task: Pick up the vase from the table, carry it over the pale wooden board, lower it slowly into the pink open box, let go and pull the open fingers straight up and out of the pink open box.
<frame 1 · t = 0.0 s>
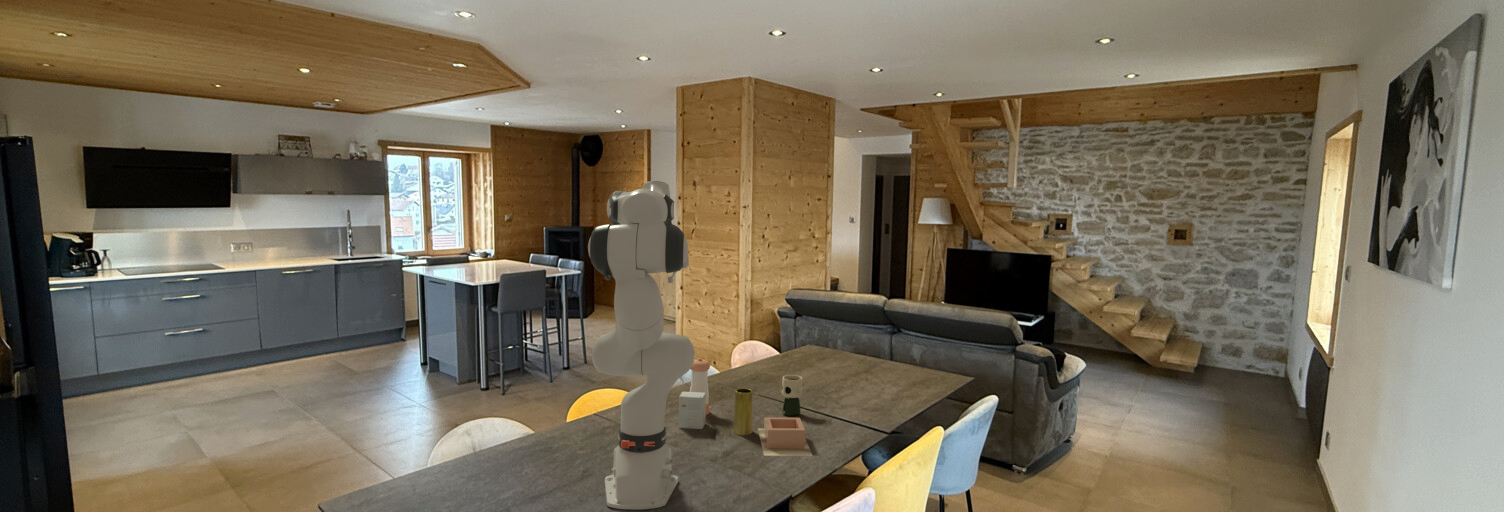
hand: (654, 282, 194), 48 cm above the table, tool pointing down, fingers open, 8 cm apart
pink open box: (783, 441, 196), resting on board
pepper shaker: (698, 413, 223), on the table
board: (783, 444, 196), on the table
character mug: (791, 414, 225), on the table
small box: (691, 426, 210), on the table
vase: (742, 435, 204), on the table
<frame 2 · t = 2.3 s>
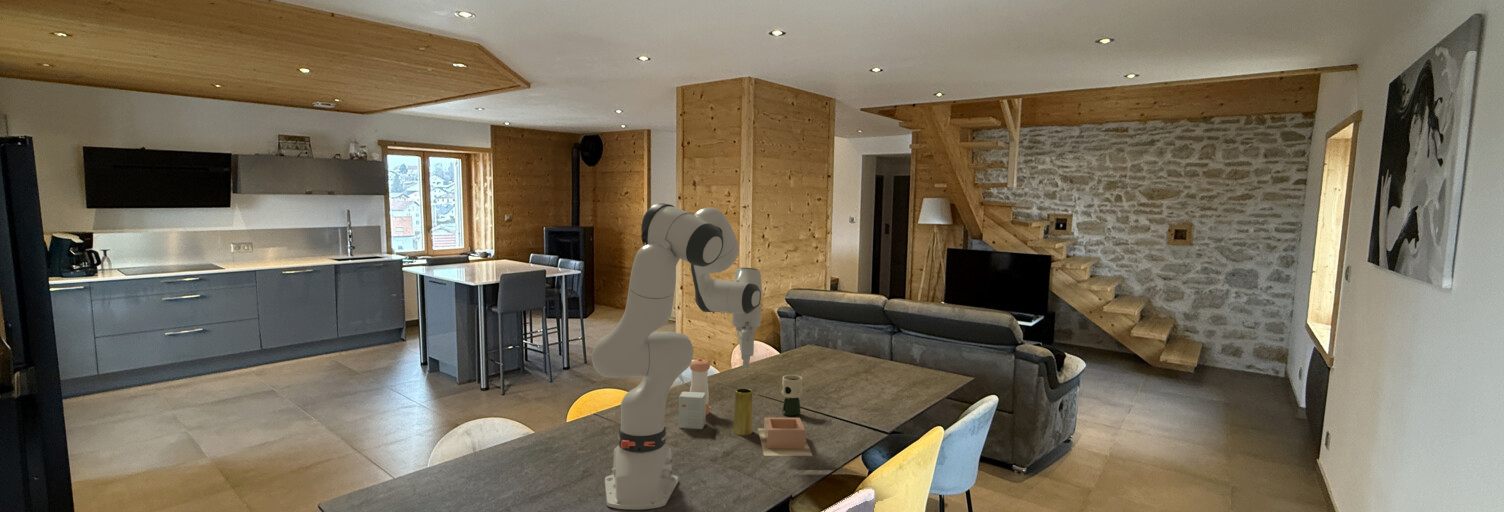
hand: (745, 363, 202), 23 cm above the table, tool pointing down, fingers open, 8 cm apart
nothing on the table moved.
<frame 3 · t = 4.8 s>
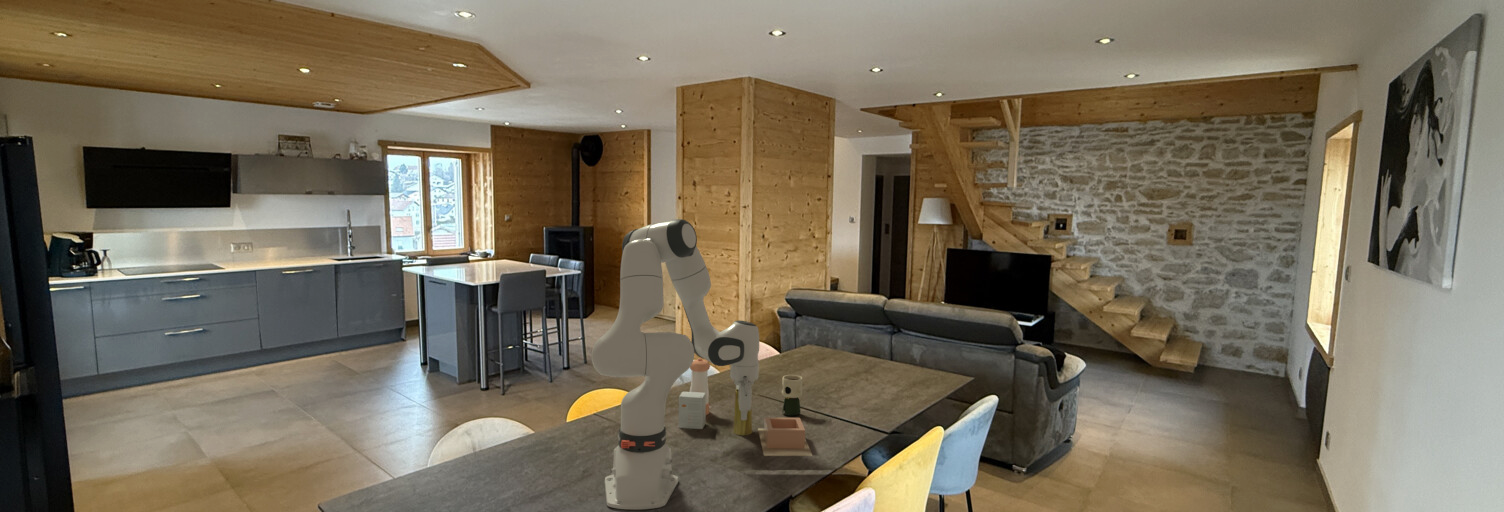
hand: (743, 415, 203), 6 cm above the table, tool pointing down, fingers closed on vase, 5 cm apart
vase: (742, 435, 204), on the table, touching gripper
everything else where it was.
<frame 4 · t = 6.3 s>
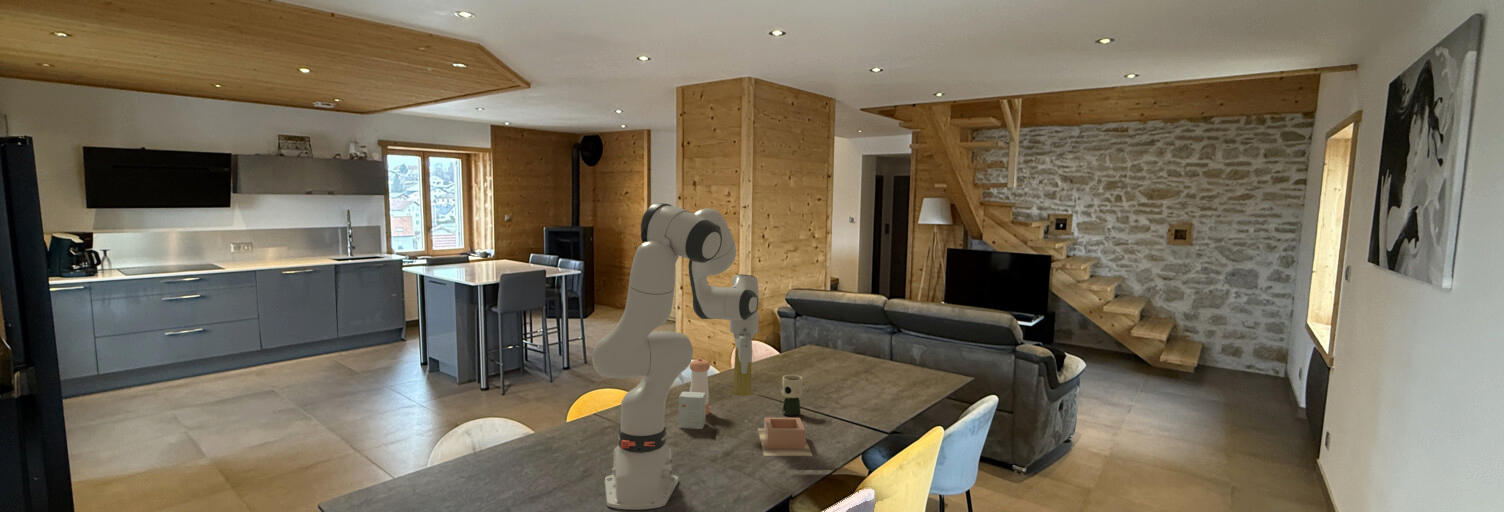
hand: (743, 370, 202), 21 cm above the table, tool pointing down, fingers closed on vase, 5 cm apart
vase: (741, 394, 202), point 13 cm above the table, touching gripper
everything else where it was.
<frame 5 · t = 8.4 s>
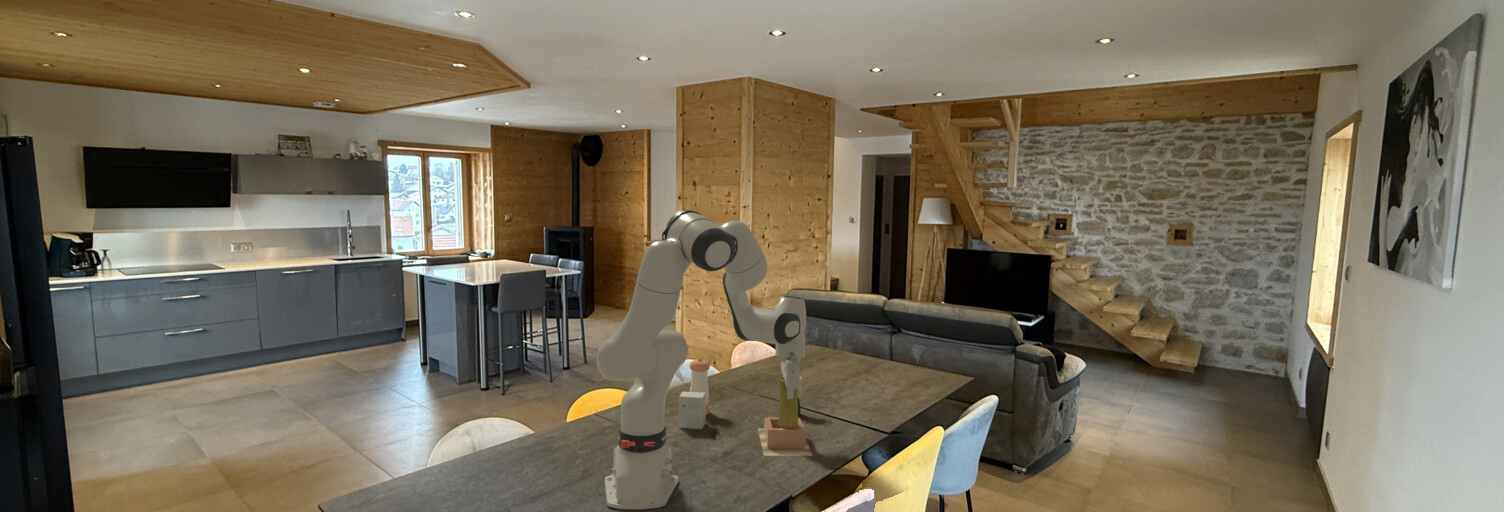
hand: (789, 395, 194), 16 cm above the table, tool pointing down, fingers closed on vase, 5 cm apart
vase: (788, 426, 194), point 6 cm above the table, touching gripper, pink open box
everything else where it was.
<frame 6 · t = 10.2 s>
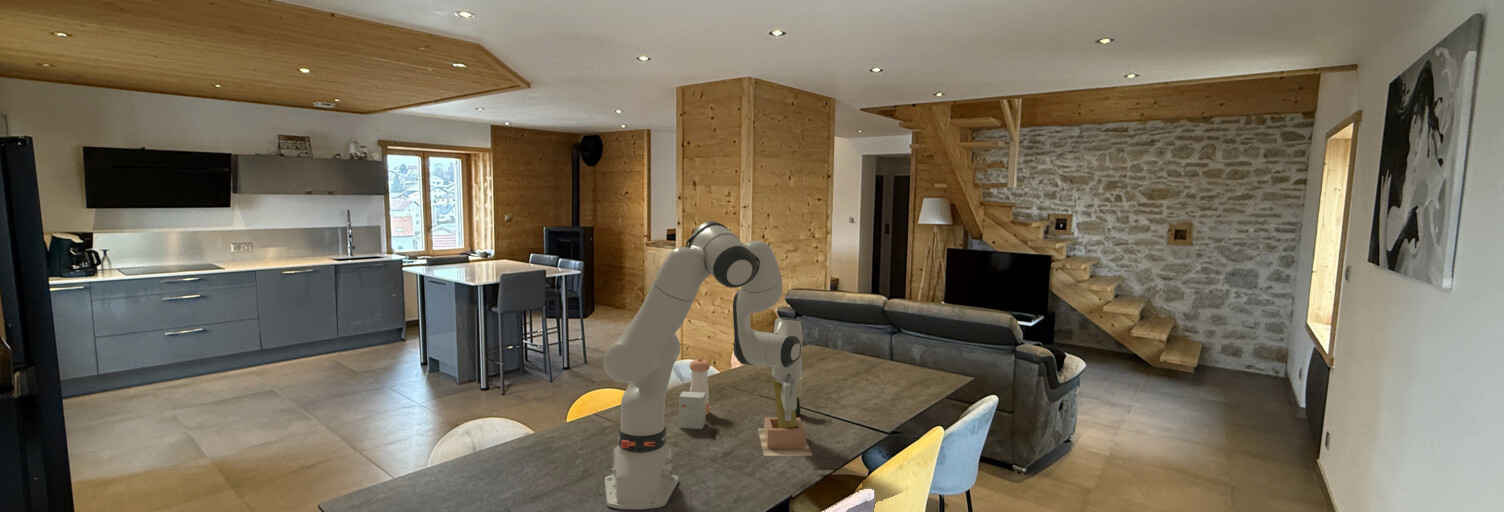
hand: (785, 415, 196), 9 cm above the table, tool pointing down, fingers closed on vase, 7 cm apart
vase: (788, 428, 194), point 6 cm above the table, touching gripper, pink open box
everything else where it was.
when the fingers open (9 cm above the table, at t = 11.0 s): vase drops 5 cm, resting on board.
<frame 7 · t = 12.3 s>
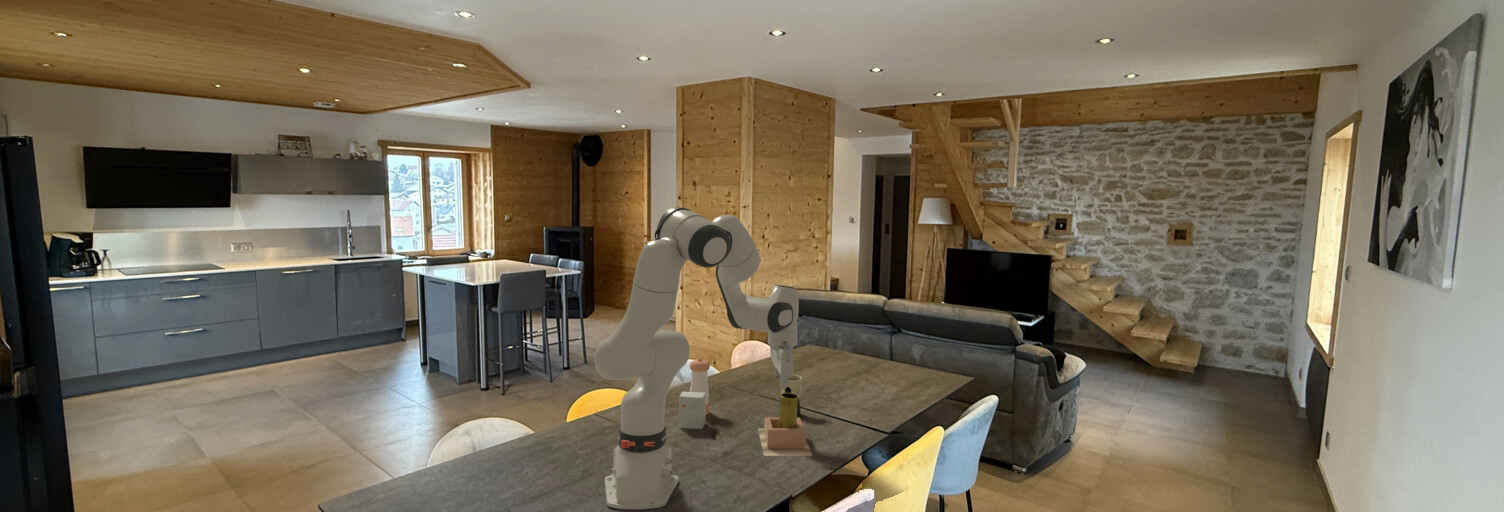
hand: (780, 383, 197), 18 cm above the table, tool pointing down, fingers open, 8 cm apart
vase: (785, 441, 196), point 1 cm above the table, touching board
everything else where it was.
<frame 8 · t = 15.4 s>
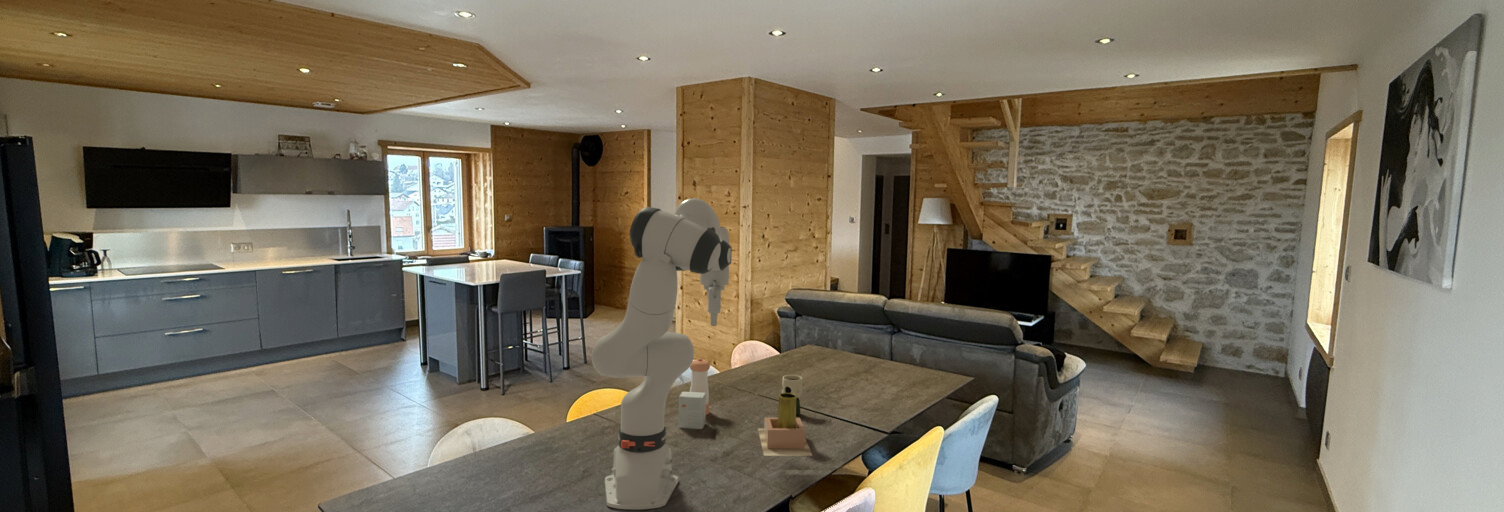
hand: (713, 322, 202), 35 cm above the table, tool pointing down, fingers open, 8 cm apart
nothing on the table moved.
at the end: vase 0.7 cm off-centre on the pink open box, point 0.0 cm above the pink open box's base; vase tilted 0°; the gripper is holding nothing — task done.
